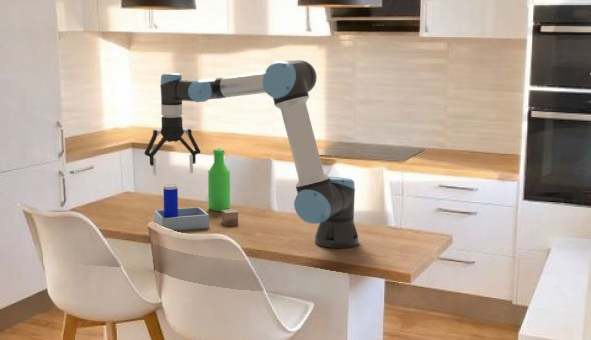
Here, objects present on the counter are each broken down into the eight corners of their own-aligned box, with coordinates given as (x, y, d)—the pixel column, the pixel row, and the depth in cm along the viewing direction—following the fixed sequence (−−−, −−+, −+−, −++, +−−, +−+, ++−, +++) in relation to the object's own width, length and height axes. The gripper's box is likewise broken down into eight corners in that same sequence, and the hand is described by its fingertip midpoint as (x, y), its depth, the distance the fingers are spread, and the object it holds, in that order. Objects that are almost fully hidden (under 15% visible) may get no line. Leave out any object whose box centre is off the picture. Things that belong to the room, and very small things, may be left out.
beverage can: (180, 224, 281) (180, 185, 278) (173, 227, 276) (172, 187, 273) (169, 222, 283) (168, 183, 280) (161, 225, 278) (160, 186, 276)
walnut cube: (238, 224, 284) (238, 211, 283) (225, 225, 282) (225, 212, 281) (234, 221, 288) (234, 208, 288) (221, 222, 287) (221, 209, 286)
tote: (209, 227, 278) (209, 214, 277) (162, 232, 272) (162, 218, 271) (199, 219, 291) (199, 206, 290) (154, 223, 284) (154, 210, 283)
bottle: (211, 212, 303) (211, 151, 298) (206, 207, 311) (205, 148, 306) (232, 210, 306) (232, 150, 301) (226, 205, 314) (226, 147, 309)
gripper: (203, 114, 280) (204, 169, 284) (136, 115, 272) (137, 173, 276) (207, 116, 273) (208, 173, 277) (138, 118, 265) (140, 176, 269)
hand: (173, 173), depth 276 cm, fingers open, 13 cm apart
